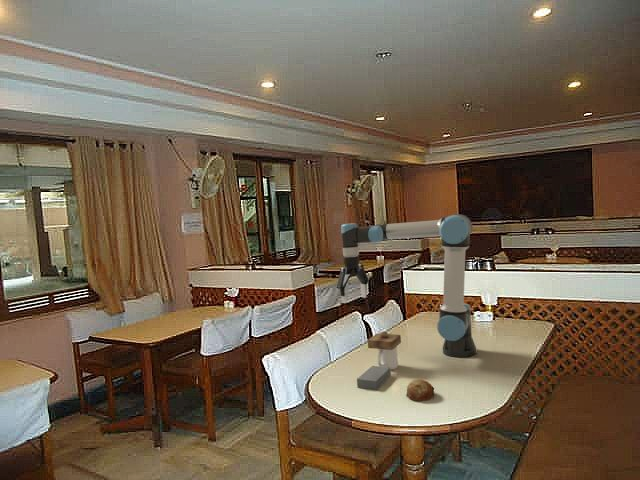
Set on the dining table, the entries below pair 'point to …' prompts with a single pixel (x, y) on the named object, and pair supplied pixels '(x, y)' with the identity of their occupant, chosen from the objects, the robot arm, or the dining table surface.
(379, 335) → the lid
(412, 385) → the bread roll
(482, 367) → the dining table surface
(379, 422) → the dining table surface
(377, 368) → the grey flat block
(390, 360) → the mug
